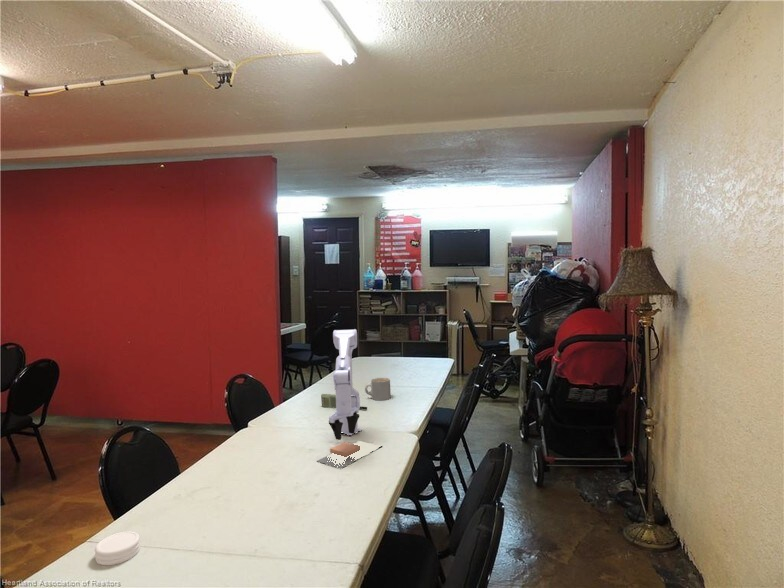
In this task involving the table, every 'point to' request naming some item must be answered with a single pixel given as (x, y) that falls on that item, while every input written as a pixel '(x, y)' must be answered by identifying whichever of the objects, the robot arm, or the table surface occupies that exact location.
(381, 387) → the coffee mug
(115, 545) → the white thick disc
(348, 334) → the robot arm
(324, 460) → the rubber mat
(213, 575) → the table surface
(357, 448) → the peach square slab
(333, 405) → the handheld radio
